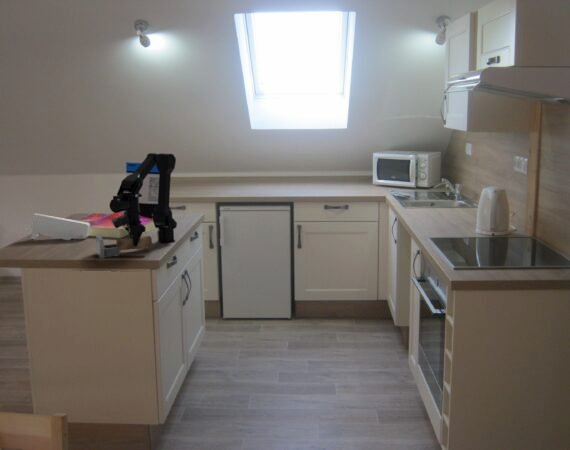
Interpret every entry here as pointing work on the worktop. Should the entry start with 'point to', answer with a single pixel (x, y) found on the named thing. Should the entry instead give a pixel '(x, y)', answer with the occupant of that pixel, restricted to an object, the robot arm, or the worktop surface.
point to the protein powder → (146, 190)
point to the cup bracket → (106, 248)
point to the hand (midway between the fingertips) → (134, 245)
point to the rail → (128, 244)
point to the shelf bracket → (58, 227)
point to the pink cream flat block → (111, 225)
